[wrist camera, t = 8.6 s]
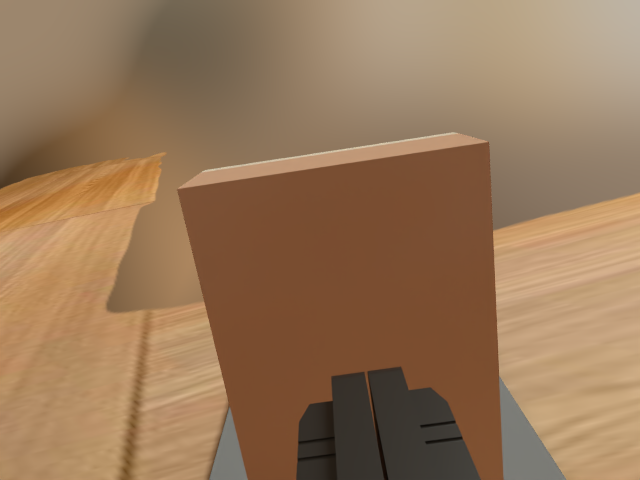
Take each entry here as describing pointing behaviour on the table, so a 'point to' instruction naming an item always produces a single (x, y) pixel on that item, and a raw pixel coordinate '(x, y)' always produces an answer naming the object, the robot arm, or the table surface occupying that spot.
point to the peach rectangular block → (350, 285)
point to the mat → (517, 448)
